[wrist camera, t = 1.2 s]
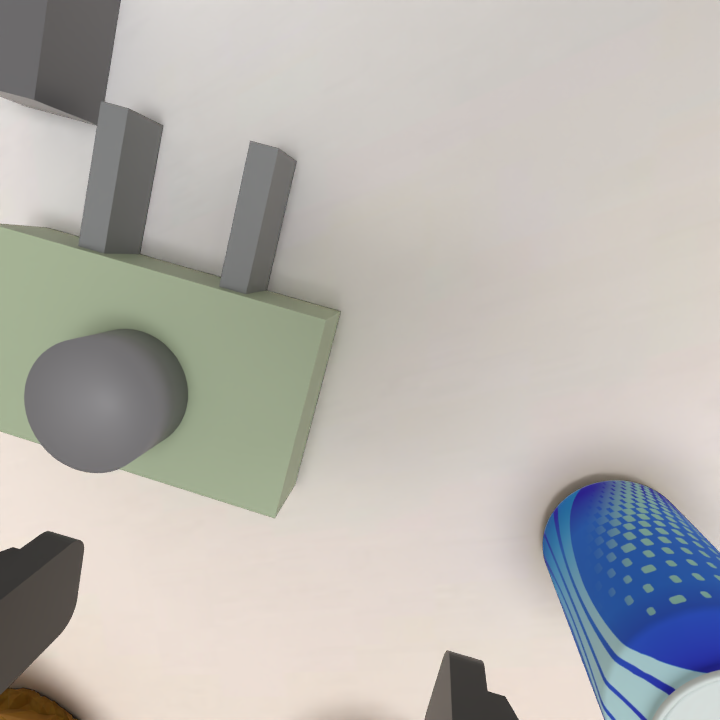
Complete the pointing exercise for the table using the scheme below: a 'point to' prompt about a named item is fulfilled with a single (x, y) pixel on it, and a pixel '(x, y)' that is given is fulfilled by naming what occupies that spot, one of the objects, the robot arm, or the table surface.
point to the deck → (161, 336)
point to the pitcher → (29, 706)
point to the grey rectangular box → (57, 54)
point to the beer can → (638, 601)
